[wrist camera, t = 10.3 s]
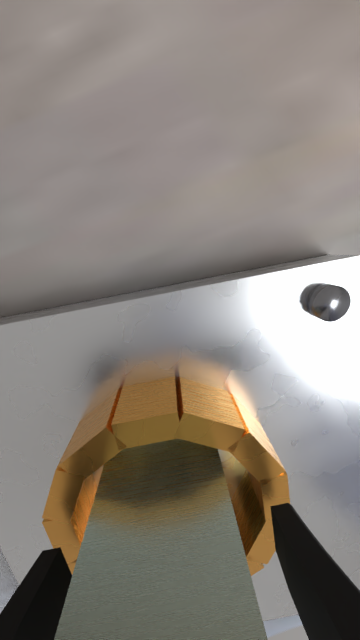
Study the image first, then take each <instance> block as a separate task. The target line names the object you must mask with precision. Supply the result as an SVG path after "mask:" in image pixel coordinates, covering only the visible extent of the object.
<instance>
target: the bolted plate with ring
mask: <svg viewBox="0 0 360 640" xmlns="http://www.w3.org/2000/svg"><path fill="white" fill-rule="evenodd" d="M173 439H182V440H186V441H190V442H194V443H197V444H201V445H205V446H209V447H213V448H216V449H218V452H219V456H220V459H221V463H222V467H223V471H224V475H225V479H226V482H227V486H228V490H229V494H230V498H231V502H232V505H233V509H234V513H235V517H236V521H237V525H238V528H239V532H240V536H241V540H242V544H243V548H244V551H245V555H246V559H247V563H248V567H249V571H250V574H251V578H252V582H253V586H254V590H255V594H256V597H257V601H258V605H259V609H260V613H261V617H262V620H263V621H267V620H272V619H277V618H282V617H287V616H292V615H297V614H298V612H297V609H296V607H295V604H294V602H293V599H292V597H291V594H290V592H289V589H288V586H287V583H286V580H285V577H284V574H283V571H282V568H281V565H280V562H279V559H278V556H277V553H276V549H275V541H274V532H273V524H272V516H271V507H270V506H274V505H279V504H284V503H289V504H291V505H292V506H293V508H294V509H295V511H296V512H297V513H298V515H299V516H300V518H301V519H302V520H303V522H304V523H305V524H306V526H307V527H308V528H309V530H310V531H311V532H312V534H313V535H314V536H315V537H316V539H317V540H318V541H319V542H320V544H321V545H322V546H323V548H324V549H325V550H326V551H327V552H328V554H329V555H330V556H331V557H332V559H333V560H334V561H335V562H336V563H337V564H338V566H339V567H340V568H341V569H342V570H343V572H344V573H345V574H346V575H347V576H348V577H349V579H350V580H351V581H352V582H353V583H354V584H355V586H356V587H357V588H358V589H359V590H360V256H355V255H324V256H319V257H314V258H309V259H304V260H298V261H293V262H288V263H283V264H278V265H272V266H267V267H262V268H257V269H252V270H247V271H241V272H236V273H231V274H226V275H221V276H215V277H210V278H205V279H200V280H195V281H190V282H184V283H179V284H174V285H169V286H164V287H158V288H153V289H148V290H143V291H138V292H132V293H127V294H122V295H117V296H112V297H107V298H101V299H96V300H91V301H86V302H81V303H75V304H70V305H65V306H60V307H55V308H50V309H44V310H39V311H34V312H29V313H24V314H18V315H13V316H8V317H3V318H0V549H1V551H2V553H3V555H4V557H5V559H6V561H7V563H8V564H9V566H10V568H11V570H12V572H13V574H14V576H15V578H16V580H17V582H18V584H19V585H20V584H21V582H22V581H23V579H24V578H25V576H26V575H27V573H28V572H29V570H30V568H31V567H32V565H33V564H34V562H35V561H36V560H37V558H38V557H39V555H40V554H41V552H42V551H44V550H49V549H54V548H59V547H60V548H61V550H62V553H63V555H64V557H65V560H66V562H67V564H68V567H69V569H70V571H71V574H72V575H73V571H74V568H75V564H76V561H77V557H78V554H79V550H80V547H81V543H82V540H83V536H84V533H85V529H86V526H87V522H88V519H89V515H90V512H91V508H92V505H93V501H94V498H95V494H96V491H97V487H98V484H99V480H100V477H101V473H102V470H103V466H104V464H105V463H106V462H108V461H109V460H110V459H111V458H113V457H114V456H115V455H116V454H118V453H119V452H120V451H122V450H123V449H126V448H132V447H137V446H142V445H147V444H152V443H157V442H162V441H168V440H173Z"/></svg>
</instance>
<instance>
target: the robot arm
mask: <svg viewBox="0 0 360 640" xmlns="http://www.w3.org/2000/svg"><path fill="white" fill-rule="evenodd" d="M270 507H271V516H272V524H273V532H274V541H275V549H276V553H277V556H278V559H279V562H280V565H281V568H282V571H283V574H284V577H285V580H286V583H287V586H288V589H289V592H290V594H291V597H292V599H293V602H294V604H295V607H296V609H297V612H298V614H299V616H300V619H301V621H302V624H303V626H304V629H305V631H306V633H307V636H308V638H309V640H360V590H359V589H358V588H357V587H356V586H355V584H354V583H353V582H352V581H351V580H350V579H349V577H348V576H347V575H346V574H345V573H344V572H343V570H342V569H341V568H340V567H339V566H338V564H337V563H336V562H335V561H334V560H333V559H332V557H331V556H330V555H329V554H328V552H327V551H326V550H325V549H324V548H323V546H322V545H321V544H320V542H319V541H318V540H317V539H316V537H315V536H314V535H313V534H312V532H311V531H310V530H309V528H308V527H307V526H306V524H305V523H304V522H303V520H302V519H301V518H300V516H299V515H298V513H297V512H296V511H295V509H294V508H293V506H292V505H291V504H289V503H284V504H279V505H274V506H270ZM71 578H72V574H71V571H70V569H69V567H68V564H67V562H66V560H65V557H64V555H63V553H62V550H61V548H60V547H59V548H54V549H49V550H44V551H42V552H41V554H40V555H39V557H38V558H37V560H36V561H35V562H34V564H33V565H32V567H31V568H30V570H29V572H28V573H27V575H26V576H25V578H24V579H23V581H22V582H21V584H20V585H19V587H18V588H17V590H16V591H15V593H14V594H13V596H12V597H11V599H10V600H9V602H8V603H7V605H6V606H5V608H4V609H3V611H2V612H1V614H0V640H54V638H55V634H56V631H57V627H58V624H59V620H60V617H61V613H62V610H63V606H64V603H65V599H66V596H67V592H68V589H69V585H70V582H71Z"/></svg>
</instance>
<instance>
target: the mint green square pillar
mask: <svg viewBox="0 0 360 640" xmlns="http://www.w3.org/2000/svg"><path fill="white" fill-rule="evenodd" d="M54 640H267V636H266V632H265V628H264V624H263V620H262V617H261V613H260V609H259V605H258V601H257V597H256V594H255V590H254V586H253V582H252V578H251V574H250V571H249V567H248V563H247V559H246V555H245V551H244V548H243V544H242V540H241V536H240V532H239V528H238V525H237V521H236V517H235V513H234V509H233V505H232V502H231V498H230V494H229V490H228V486H227V482H226V479H225V475H224V471H223V467H222V463H221V459H220V456H219V452H218V449H216V448H213V447H209V446H205V445H201V444H197V443H194V442H190V441H186V440H182V439H173V440H168V441H162V442H157V443H152V444H147V445H142V446H137V447H132V448H126V449H123V450H122V451H120V452H119V453H118V454H116V455H115V456H114V457H113V458H111V459H110V460H109V461H108V462H106V463H105V464H104V466H103V470H102V473H101V477H100V480H99V484H98V487H97V491H96V494H95V498H94V501H93V505H92V508H91V512H90V515H89V519H88V522H87V526H86V529H85V533H84V536H83V540H82V543H81V547H80V550H79V554H78V557H77V561H76V564H75V568H74V571H73V575H72V578H71V582H70V585H69V589H68V592H67V596H66V599H65V603H64V606H63V610H62V613H61V617H60V620H59V624H58V627H57V631H56V634H55V638H54Z"/></svg>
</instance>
